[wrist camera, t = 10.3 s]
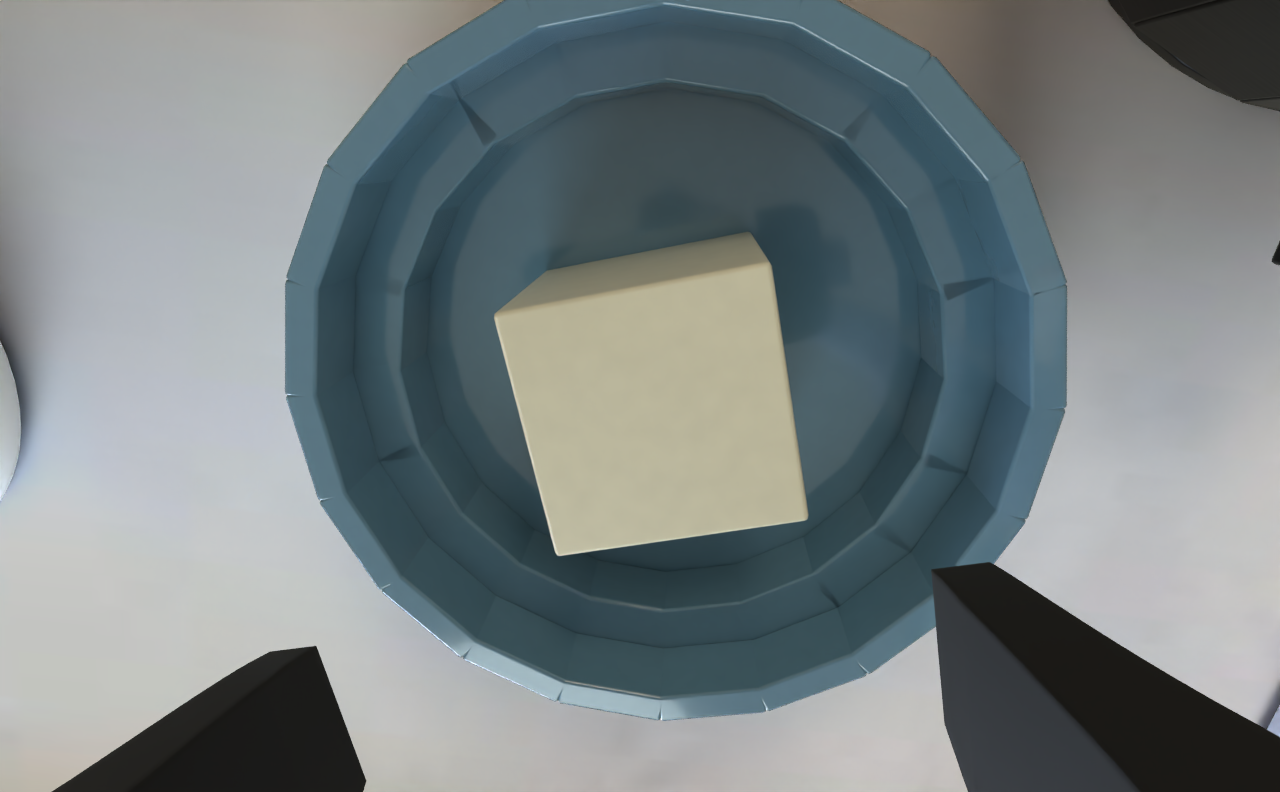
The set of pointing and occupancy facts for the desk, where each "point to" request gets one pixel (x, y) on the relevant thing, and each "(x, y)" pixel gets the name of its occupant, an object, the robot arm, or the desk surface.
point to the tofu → (656, 395)
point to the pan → (1215, 44)
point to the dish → (653, 219)
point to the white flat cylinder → (8, 423)
